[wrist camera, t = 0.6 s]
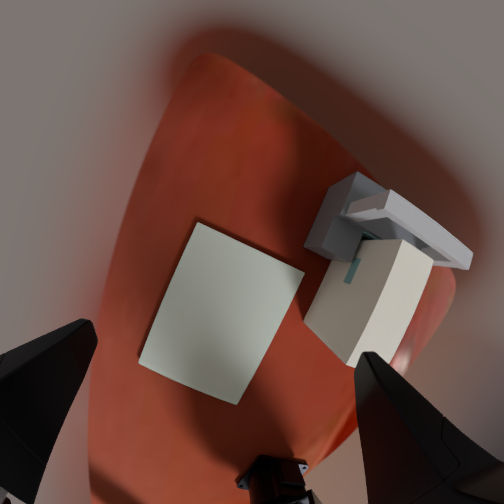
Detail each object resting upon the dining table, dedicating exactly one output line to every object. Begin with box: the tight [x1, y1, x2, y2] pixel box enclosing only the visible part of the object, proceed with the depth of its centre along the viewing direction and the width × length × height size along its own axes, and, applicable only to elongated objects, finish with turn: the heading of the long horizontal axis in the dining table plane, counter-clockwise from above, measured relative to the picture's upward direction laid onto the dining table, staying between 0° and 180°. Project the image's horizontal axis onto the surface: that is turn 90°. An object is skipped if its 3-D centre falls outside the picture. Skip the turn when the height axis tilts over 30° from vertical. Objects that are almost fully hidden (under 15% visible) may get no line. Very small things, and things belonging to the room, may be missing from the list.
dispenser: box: [303, 171, 473, 270], centre depth 19 cm, size 6×9×11 cm, turn 64°
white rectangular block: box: [303, 239, 434, 368], centre depth 20 cm, size 8×3×10 cm, turn 155°
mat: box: [138, 222, 305, 405], centre depth 24 cm, size 14×10×1 cm
